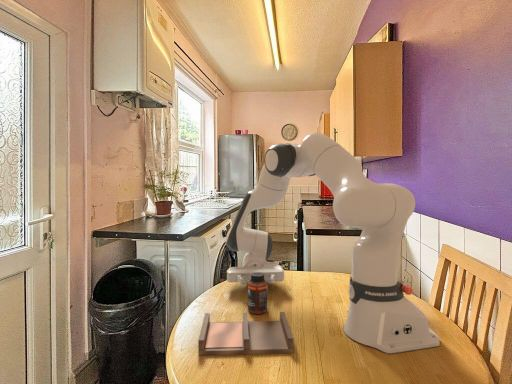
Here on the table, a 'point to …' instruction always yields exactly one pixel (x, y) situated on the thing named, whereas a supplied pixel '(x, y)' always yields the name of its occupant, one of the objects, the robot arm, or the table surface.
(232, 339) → the slot rack
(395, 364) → the table surface
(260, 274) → the supplement bottle
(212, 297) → the table surface
